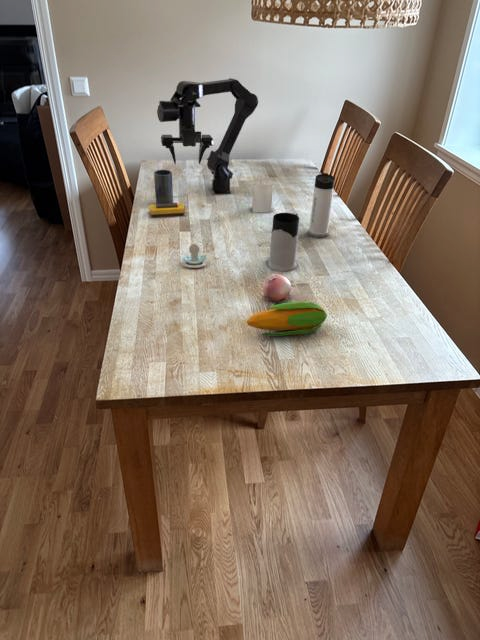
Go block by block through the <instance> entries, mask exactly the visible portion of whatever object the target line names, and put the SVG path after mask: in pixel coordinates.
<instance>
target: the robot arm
mask: <svg viewBox="0 0 480 640" xmlns="http://www.w3.org/2000/svg"><path fill="white" fill-rule="evenodd" d="M223 93H224V94H225V93H231V95H232V97H234V99H235V102H234V112H233V115H232V117H231V120H230V122H229V124H228V127H227V129H226V132H225V133H224V135H223V137H222V139H221V142H220V144H219V146H218V148H217V149H216V150H215V151H214V150H211V151H210V153H209V156H208V158H206V161H207V162H206V166H207V169H208V170H209V171H210V173H211V175H212V179H211V190H212V192H213V193H214V194H215V195H224V194H225V195H228V194H232V191H231V179H233V175H234V173H233V172H232V171H231V170H230V169H229V166H230V165H229V164H230V156H231V155H230V154H231V152H232V150H233V148H234V146H235V144H236V142H237V139H238V137H239V135H240V133H241V131H242V129H243V126H244V124H245V122H246V120H247V119H248V118H249V117H250V116H251V115H252V114H253V113H254V112H255V110H256V109H257V107H258V105H259V98H258V96H257V95H256V94H255V93H252V92H251V91H250V90H248V89H247V88H246V87H245V86H244V85H243V84H242V83H241V82H240V81H239V80H238V79H236V78H232V77H230V78H228V79H220V80H212V81H204V82H198V81H191V80H189V81H188V80H181V81H179V82H178V83H177V85H176V89H175V91H174V93H173V95H172V96H171V98H170V100H159V101H158V103H159V104H158V105H157V110H156V114H157V118H158V121H159V122H160V123H165V122H167V123H168V122H177V121H178V135H179V136H178V137H174V136H173V135H172V134H161V136H160V143H161V146H163V147H165V149H168V150H169V152H170V154H171V158H172V160H173V163H174V165H176V164H177V159H176V153H175V146H174V144H182V146H183V147H186V148H187V147H193V148H194V147H196V146H197V144H199V145H198V146H199V147H198V164H199V165H201V163H202V159H203V156H204V154H205V151H206V150H207V149H210V147H213V146H214V138H213V137H212V135H210V134H202V131H196V108H200V107H201V104H200V103H199V102H198V101H197V100H199V99H201V98H203V97H205V96H210V95H218V94H223Z"/></svg>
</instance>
